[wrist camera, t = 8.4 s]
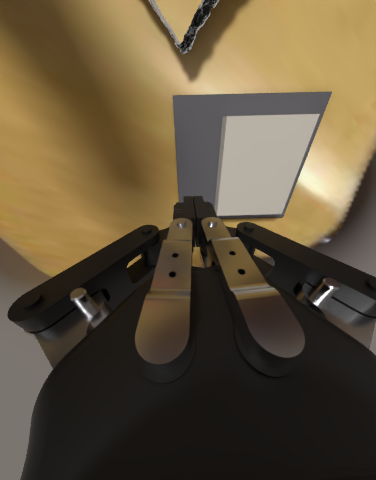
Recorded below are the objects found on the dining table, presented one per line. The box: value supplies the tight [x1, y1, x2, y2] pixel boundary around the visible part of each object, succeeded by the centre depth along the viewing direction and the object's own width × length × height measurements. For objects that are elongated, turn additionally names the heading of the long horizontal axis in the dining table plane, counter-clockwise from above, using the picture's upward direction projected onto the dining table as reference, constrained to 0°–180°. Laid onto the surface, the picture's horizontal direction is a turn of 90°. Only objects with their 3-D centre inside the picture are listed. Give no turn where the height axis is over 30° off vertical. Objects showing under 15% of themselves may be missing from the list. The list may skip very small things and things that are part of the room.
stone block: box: [214, 114, 320, 216], centre depth 21 cm, size 2×12×10 cm
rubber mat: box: [173, 92, 332, 219], centre depth 23 cm, size 18×16×1 cm
